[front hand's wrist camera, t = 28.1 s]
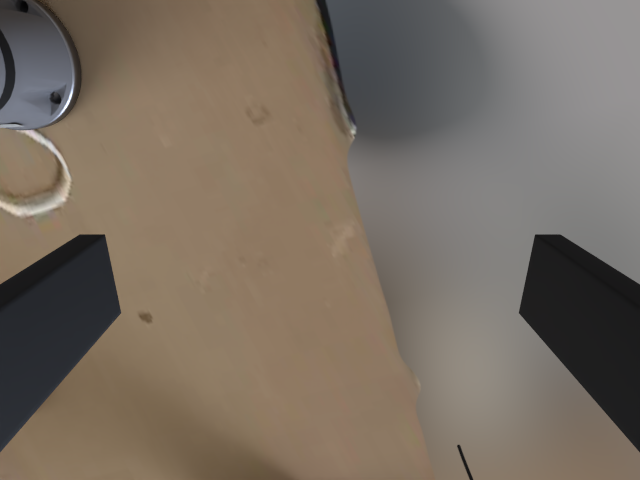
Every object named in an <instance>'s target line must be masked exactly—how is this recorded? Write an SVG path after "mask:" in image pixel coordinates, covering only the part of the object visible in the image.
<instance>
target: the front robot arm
mask: <svg viewBox="0 0 640 480" xmlns="http://www.w3.org/2000/svg"><path fill="white" fill-rule="evenodd" d="M80 87H81V66H80V61H79V57H78V53H77V50H76V47H75V45H74V43H73V41H72V38H71V37H70V35H69V33H68V31H67V30H66V28H65V27H64V25H63V24H62V23H61V22H60V20H59V19H58V18H57V17H56V16H55V15H54V14H53V13H52V12H51V11H50V10H49V9H48V8H47V7H46V6H45V5H43V4H42V3H41V2H39V1H38V0H0V128H1V127H4V128H8V129H13V130H31V129H38V128H43V127H47V126H50V125H53V124H55V123H57V122H58V121H60V120H62V119H63V118H64V117H65V116H66V115H67V114H68V113H69V112H70V111H71V109H72V108H73V106H74V105H75V103H76V101H77V98H78V95H79V92H80ZM120 314H121V310H120V305H119V300H118V296H117V291H116V286H115V281H114V276H113V272H112V267H111V262H110V257H109V252H108V247H107V243H106V238H105V235H78V236H77V237H75V238H74V239H72V240H70V241H69V242H67V243H66V244H64V245H62V246H61V247H59V248H58V249H56V250H54V251H53V252H51V253H50V254H48V255H46V256H45V257H43V258H42V259H40V260H38V261H37V262H35V263H34V264H32V265H31V266H29V267H27V268H26V269H24V270H23V271H21V272H19V273H18V274H16V275H15V276H13V277H11V278H10V279H8V280H7V281H5V282H3V283H2V284H0V452H1V451H2V449H3V448H4V447H5V446H6V445H7V444H8V443H9V441H10V440H11V439H12V438H13V437H14V436H15V435H16V433H17V432H18V431H19V430H20V429H21V428H22V426H23V425H24V424H25V423H26V422H27V421H28V420H29V418H30V417H31V416H32V415H33V414H34V413H35V411H36V410H37V409H38V408H39V407H40V406H41V405H42V403H43V402H44V401H45V400H46V399H47V398H48V396H49V395H50V394H51V393H52V392H53V391H54V390H55V388H56V387H57V386H58V385H59V384H60V383H61V382H62V380H63V379H64V378H65V377H66V376H67V375H68V373H69V372H70V371H71V370H72V369H73V368H74V367H75V365H76V364H77V363H78V362H79V361H80V360H81V358H82V357H83V356H84V355H85V354H86V353H87V352H88V350H89V349H90V348H91V347H92V346H93V345H94V344H95V342H96V341H97V340H98V339H99V338H100V337H101V335H102V334H103V333H104V332H105V331H106V330H107V329H108V327H109V326H110V325H111V324H112V323H113V322H114V320H115V319H116V318H117V317H118V316H119V315H120ZM519 314H520V315H521V316H522V317H523V318H524V319H525V320H526V322H527V323H528V324H529V325H530V326H531V327H532V329H533V330H534V331H535V332H536V333H537V334H538V335H539V337H540V338H541V339H542V340H543V341H544V342H545V343H546V345H547V346H548V347H549V348H550V349H551V350H552V352H553V353H554V354H555V355H556V356H557V357H558V358H559V360H560V361H561V362H562V363H563V364H564V365H565V366H566V368H567V369H568V370H569V371H570V372H571V373H572V375H573V376H574V377H575V378H576V379H577V380H578V381H579V383H580V384H581V385H582V386H583V387H584V388H585V390H586V391H587V392H588V393H589V394H590V395H591V396H592V398H593V399H594V400H595V401H596V402H597V403H598V405H599V406H600V407H601V408H602V409H603V410H604V411H605V413H606V414H607V415H608V416H609V417H610V418H611V420H612V421H613V422H614V423H615V424H616V425H617V426H618V428H619V429H620V430H621V431H622V432H623V433H624V434H625V436H626V437H627V438H628V439H629V440H630V441H631V443H632V444H633V445H634V446H635V447H636V448H637V449H638V451H639V452H640V284H638V283H637V282H635V281H633V280H632V279H630V278H629V277H627V276H625V275H624V274H622V273H621V272H619V271H617V270H616V269H614V268H613V267H611V266H609V265H608V264H606V263H605V262H603V261H602V260H600V259H598V258H597V257H595V256H594V255H592V254H590V253H589V252H587V251H586V250H584V249H582V248H581V247H579V246H578V245H576V244H574V243H573V242H571V241H570V240H568V239H566V238H565V237H563V236H562V235H535V238H534V243H533V247H532V252H531V257H530V262H529V267H528V272H527V276H526V281H525V286H524V291H523V296H522V300H521V305H520V310H519Z"/></svg>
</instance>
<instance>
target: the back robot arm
mask: <svg viewBox="0 0 640 480" xmlns="http://www.w3.org/2000/svg"><path fill="white" fill-rule="evenodd" d="M457 447H458V450H459V453H460V456H461V459H462V461H463V464H464V467H465V469H466V472H467V474H468V477H469V479H470V480H473V477H472V475H471V472H470V470H469V467H468V465H467V462H466V460H465V457H464V454H463V452H462V449H461V446H460V445H457Z"/></svg>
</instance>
